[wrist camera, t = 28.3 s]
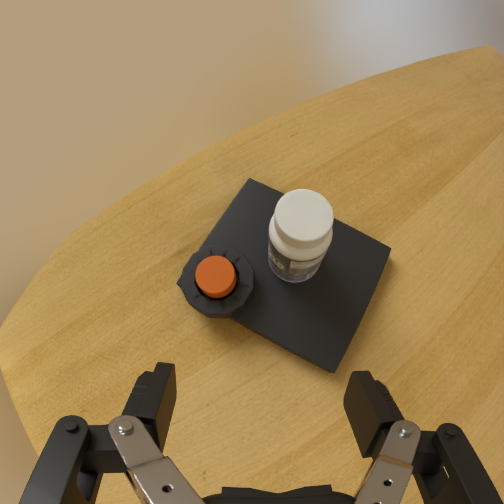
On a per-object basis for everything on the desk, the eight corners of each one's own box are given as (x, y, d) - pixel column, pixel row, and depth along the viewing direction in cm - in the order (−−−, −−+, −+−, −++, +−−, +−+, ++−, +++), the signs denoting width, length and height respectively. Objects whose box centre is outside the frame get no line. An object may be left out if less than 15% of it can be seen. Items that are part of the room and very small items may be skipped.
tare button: (192, 286, 26) (187, 280, 25) (211, 255, 27) (209, 248, 26) (223, 305, 25) (220, 300, 24) (243, 273, 26) (242, 267, 25)
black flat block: (173, 296, 29) (164, 288, 26) (249, 184, 33) (248, 168, 30) (325, 383, 25) (332, 384, 22) (386, 253, 29) (397, 241, 27)
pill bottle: (262, 240, 29) (261, 190, 21) (311, 230, 29) (326, 178, 21) (274, 289, 27) (278, 253, 19) (326, 277, 27) (349, 237, 19)
